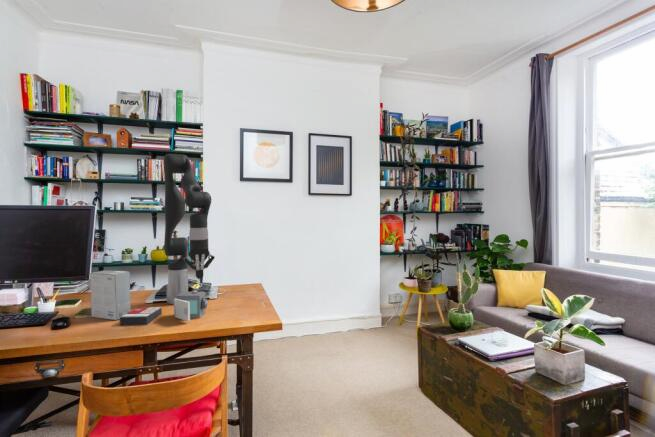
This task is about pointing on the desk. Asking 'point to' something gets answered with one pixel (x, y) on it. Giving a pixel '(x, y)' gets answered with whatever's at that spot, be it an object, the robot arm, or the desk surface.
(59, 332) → the desk surface
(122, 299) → the hard drive box
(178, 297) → the camera body
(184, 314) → the side door
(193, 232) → the robot arm
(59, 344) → the desk surface
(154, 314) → the calculator
